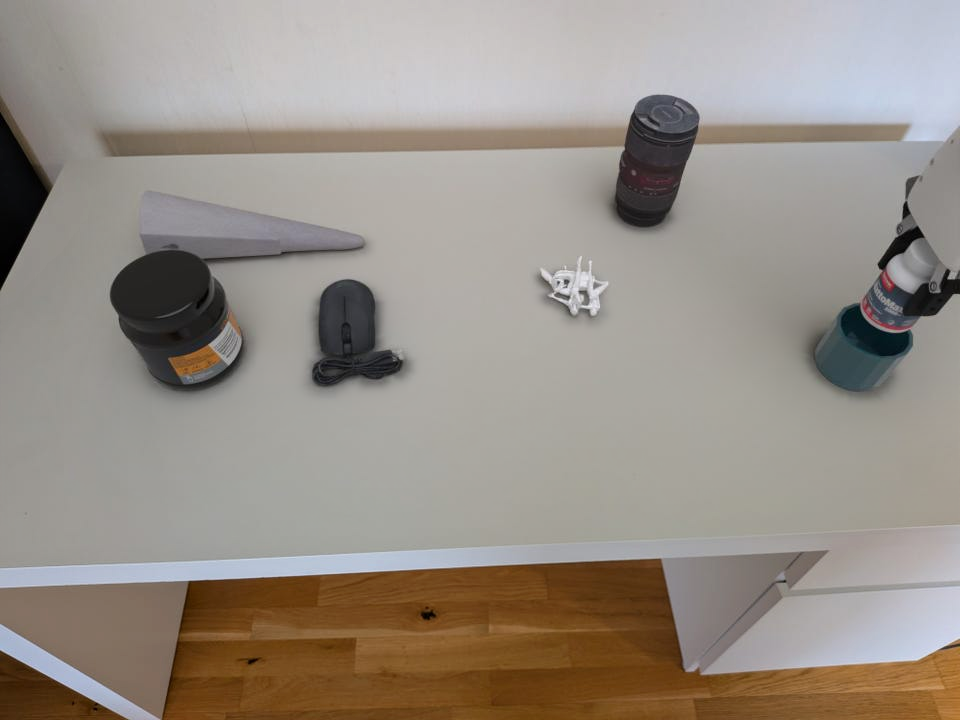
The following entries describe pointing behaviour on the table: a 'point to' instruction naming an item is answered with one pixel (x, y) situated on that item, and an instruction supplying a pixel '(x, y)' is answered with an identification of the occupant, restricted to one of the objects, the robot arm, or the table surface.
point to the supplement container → (177, 319)
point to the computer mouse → (350, 334)
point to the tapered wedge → (229, 230)
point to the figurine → (576, 287)
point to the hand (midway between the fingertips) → (905, 288)
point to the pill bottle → (899, 287)
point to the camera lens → (654, 158)
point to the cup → (859, 351)
